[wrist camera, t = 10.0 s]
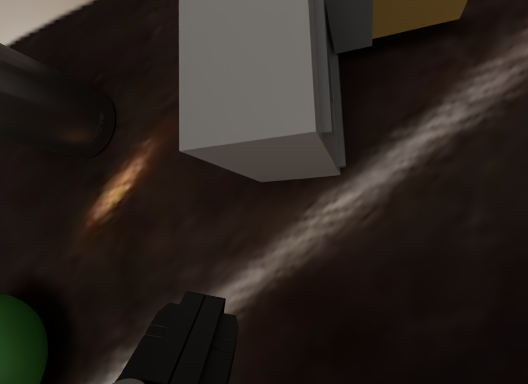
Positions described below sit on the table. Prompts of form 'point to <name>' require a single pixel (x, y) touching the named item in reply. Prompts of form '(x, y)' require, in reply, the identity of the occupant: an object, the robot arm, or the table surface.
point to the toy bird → (21, 343)
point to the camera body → (260, 88)
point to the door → (384, 18)
